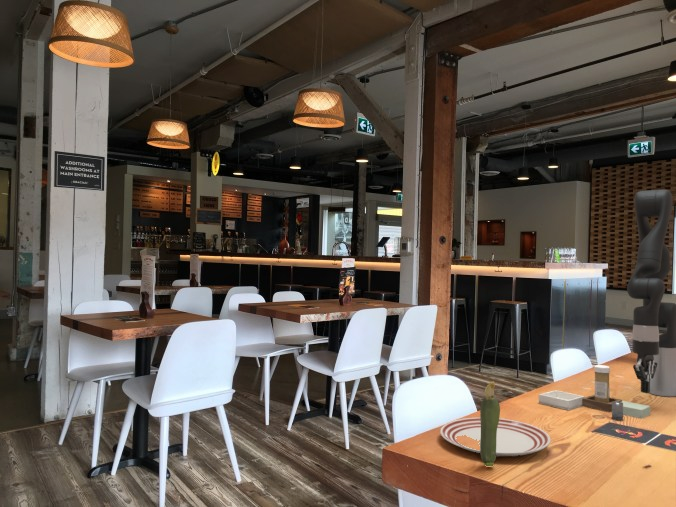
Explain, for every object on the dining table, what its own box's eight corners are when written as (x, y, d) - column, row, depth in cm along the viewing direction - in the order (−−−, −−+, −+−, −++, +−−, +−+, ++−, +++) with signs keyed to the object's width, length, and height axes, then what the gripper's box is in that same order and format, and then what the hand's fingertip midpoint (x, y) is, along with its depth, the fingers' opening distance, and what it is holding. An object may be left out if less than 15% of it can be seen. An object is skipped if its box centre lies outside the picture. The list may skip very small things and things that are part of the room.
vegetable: (477, 463, 124) (477, 377, 124) (495, 463, 125) (495, 377, 125) (484, 470, 120) (484, 382, 120) (502, 470, 120) (503, 382, 120)
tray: (555, 398, 184) (555, 390, 184) (584, 405, 176) (584, 396, 176) (538, 403, 178) (538, 394, 178) (568, 410, 170) (568, 401, 170)
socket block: (595, 401, 181) (595, 394, 181) (622, 407, 173) (622, 400, 174) (581, 406, 175) (581, 398, 175) (609, 412, 168) (609, 404, 168)
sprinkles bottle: (612, 407, 174) (612, 366, 174) (604, 409, 171) (604, 367, 171) (599, 404, 177) (599, 364, 178) (591, 406, 175) (591, 365, 175)
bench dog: (614, 417, 163) (614, 400, 163) (624, 419, 160) (624, 402, 160) (610, 418, 161) (610, 402, 161) (620, 421, 159) (620, 404, 159)
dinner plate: (492, 472, 119) (492, 458, 119) (419, 436, 144) (419, 424, 144) (574, 453, 132) (574, 440, 132) (495, 423, 156) (495, 411, 156)
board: (623, 410, 172) (623, 400, 172) (650, 415, 166) (650, 406, 166) (614, 414, 168) (614, 404, 168) (641, 419, 161) (641, 410, 161)
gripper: (642, 336, 180) (641, 388, 179) (624, 338, 172) (624, 392, 171) (666, 339, 174) (666, 392, 173) (649, 341, 166) (649, 397, 165)
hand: (645, 392), depth 172 cm, fingers closed
